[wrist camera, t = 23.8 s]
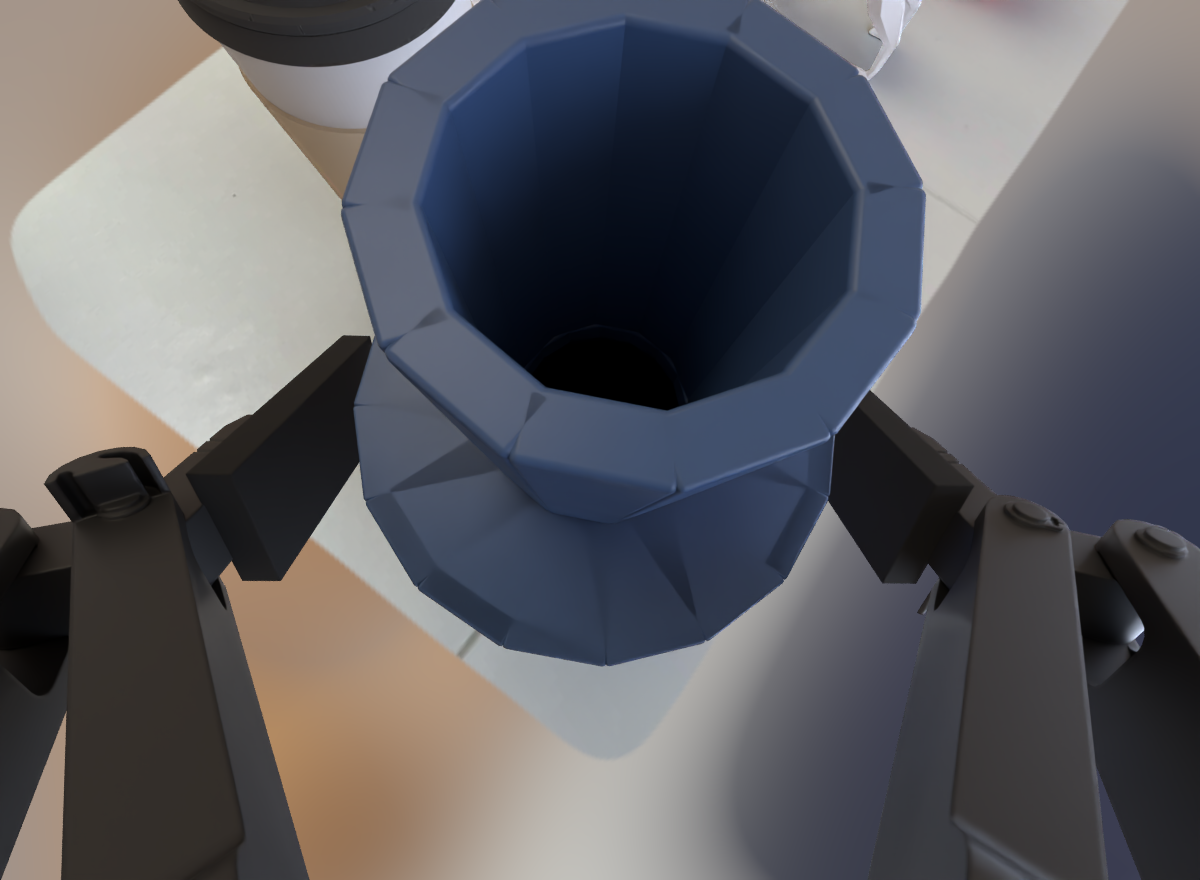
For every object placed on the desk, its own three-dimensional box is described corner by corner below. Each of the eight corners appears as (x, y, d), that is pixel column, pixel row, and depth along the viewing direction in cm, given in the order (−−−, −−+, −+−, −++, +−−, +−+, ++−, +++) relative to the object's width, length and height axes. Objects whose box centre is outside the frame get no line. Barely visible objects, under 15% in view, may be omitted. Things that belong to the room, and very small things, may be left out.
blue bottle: (484, 562, 23) (-333, 757, 2) (520, 403, 24) (246, -316, 4) (649, 593, 23) (1315, 1050, 2) (674, 432, 25) (1188, -118, 4)
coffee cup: (531, 271, 27) (481, -60, 12) (366, 303, 26) (92, -11, 11) (498, 135, 28) (418, -299, 14) (341, 161, 27) (75, -275, 13)
